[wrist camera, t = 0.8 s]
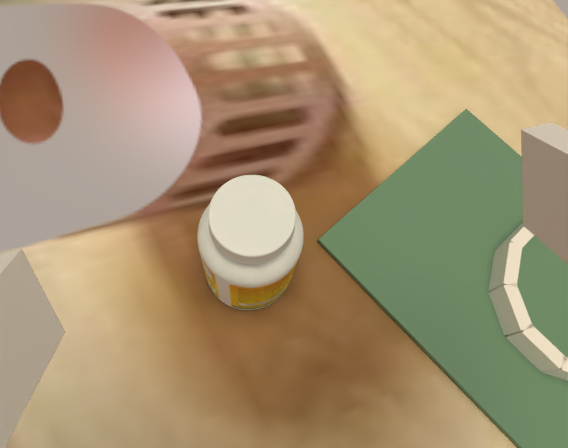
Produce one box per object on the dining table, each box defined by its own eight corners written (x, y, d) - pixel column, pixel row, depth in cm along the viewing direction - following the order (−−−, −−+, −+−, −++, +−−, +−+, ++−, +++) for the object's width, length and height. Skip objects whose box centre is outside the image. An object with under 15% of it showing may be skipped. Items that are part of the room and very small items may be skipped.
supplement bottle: (188, 281, 31) (166, 228, 22) (237, 214, 33) (234, 140, 24) (262, 329, 30) (269, 294, 21) (308, 258, 32) (332, 198, 23)
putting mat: (317, 241, 33) (318, 239, 32) (463, 112, 37) (466, 108, 36) (549, 480, 29) (554, 481, 28) (683, 304, 33) (689, 302, 32)
